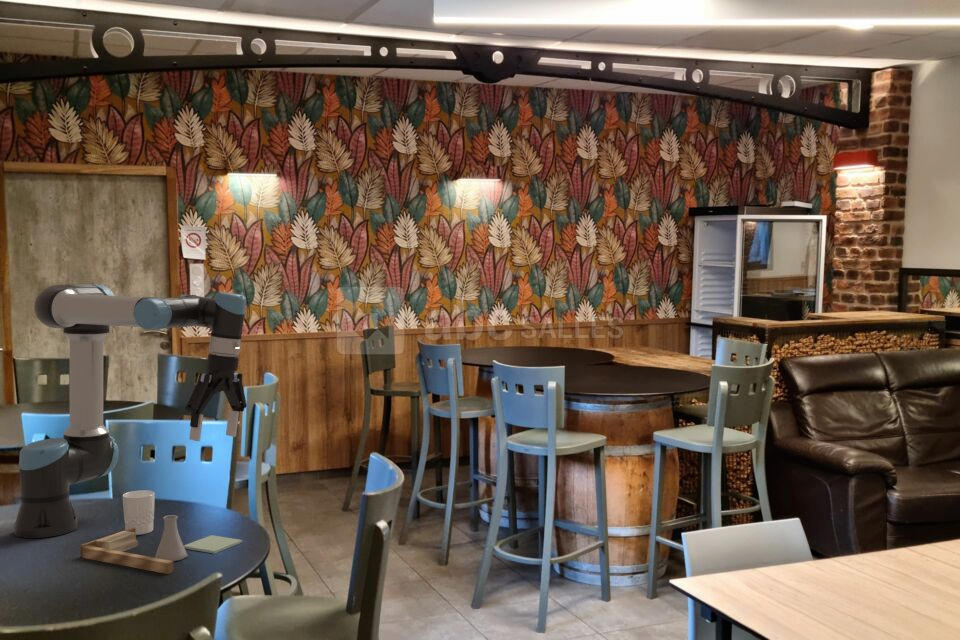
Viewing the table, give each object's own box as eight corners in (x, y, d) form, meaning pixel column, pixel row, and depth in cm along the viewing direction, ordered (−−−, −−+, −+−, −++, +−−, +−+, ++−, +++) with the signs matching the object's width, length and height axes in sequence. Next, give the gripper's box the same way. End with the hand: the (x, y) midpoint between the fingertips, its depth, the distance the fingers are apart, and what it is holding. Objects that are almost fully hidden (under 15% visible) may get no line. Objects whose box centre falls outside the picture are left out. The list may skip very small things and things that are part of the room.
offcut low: (96, 556, 221) (96, 548, 221) (126, 546, 229) (126, 538, 229) (108, 558, 219) (108, 550, 219) (137, 548, 227) (137, 540, 227)
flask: (166, 565, 213) (165, 522, 212) (148, 559, 217) (147, 517, 216) (193, 557, 218) (192, 515, 218) (175, 551, 223) (174, 511, 222)
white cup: (160, 527, 243) (159, 490, 243) (147, 536, 236) (146, 497, 235) (132, 526, 244) (131, 489, 244) (117, 535, 236) (116, 497, 236)
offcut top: (96, 549, 220) (96, 540, 220) (123, 538, 229) (123, 531, 229) (109, 550, 219) (109, 542, 219) (136, 540, 227) (135, 532, 227)
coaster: (183, 548, 225) (183, 545, 225) (211, 537, 234) (211, 535, 234) (214, 553, 221) (214, 551, 221) (242, 542, 230) (242, 540, 230)
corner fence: (80, 557, 218) (80, 544, 218) (132, 539, 233) (132, 527, 233) (168, 574, 206) (167, 560, 206) (217, 554, 220) (217, 541, 220)
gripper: (201, 356, 216) (190, 445, 217) (266, 356, 239) (256, 436, 240) (177, 352, 219) (166, 439, 220) (243, 352, 242) (233, 431, 243)
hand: (213, 438), depth 230 cm, fingers open, 13 cm apart
